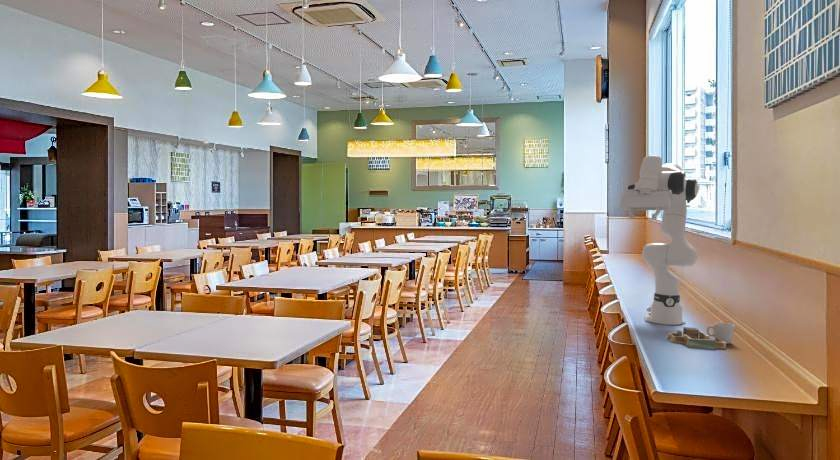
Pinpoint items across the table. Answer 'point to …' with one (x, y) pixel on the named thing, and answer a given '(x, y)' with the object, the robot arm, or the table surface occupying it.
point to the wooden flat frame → (697, 340)
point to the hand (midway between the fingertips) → (642, 218)
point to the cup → (722, 331)
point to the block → (691, 332)
